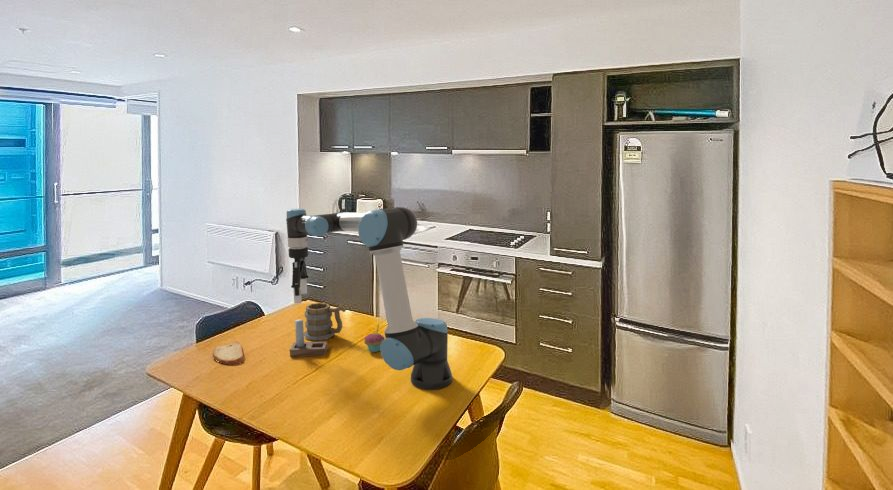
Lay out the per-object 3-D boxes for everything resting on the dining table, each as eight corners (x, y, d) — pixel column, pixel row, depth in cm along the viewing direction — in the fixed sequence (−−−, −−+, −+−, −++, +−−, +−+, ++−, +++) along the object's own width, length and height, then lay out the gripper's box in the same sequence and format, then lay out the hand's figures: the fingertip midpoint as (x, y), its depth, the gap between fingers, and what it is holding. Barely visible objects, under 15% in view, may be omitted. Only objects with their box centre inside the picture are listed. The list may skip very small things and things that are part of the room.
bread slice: (238, 366, 195) (238, 357, 194) (197, 363, 198) (196, 354, 197) (263, 349, 212) (262, 340, 211) (224, 346, 215) (224, 338, 215)
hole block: (325, 355, 205) (324, 348, 204) (290, 356, 203) (289, 349, 203) (327, 348, 212) (327, 341, 212) (294, 349, 211) (293, 342, 211)
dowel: (304, 354, 206) (302, 321, 204) (296, 354, 206) (294, 322, 203) (305, 351, 209) (303, 319, 207) (297, 351, 209) (295, 319, 206)
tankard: (299, 338, 223) (297, 306, 220) (314, 329, 235) (313, 298, 232) (339, 343, 217) (337, 310, 215) (352, 334, 229) (351, 302, 227)
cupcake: (386, 346, 214) (386, 320, 212) (382, 354, 206) (381, 326, 204) (367, 345, 215) (366, 319, 213) (361, 353, 207) (361, 326, 205)
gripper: (302, 253, 188) (305, 306, 192) (312, 241, 213) (314, 289, 216) (281, 253, 187) (285, 307, 191) (294, 242, 212) (297, 290, 215)
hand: (301, 298), depth 204 cm, fingers open, 13 cm apart
